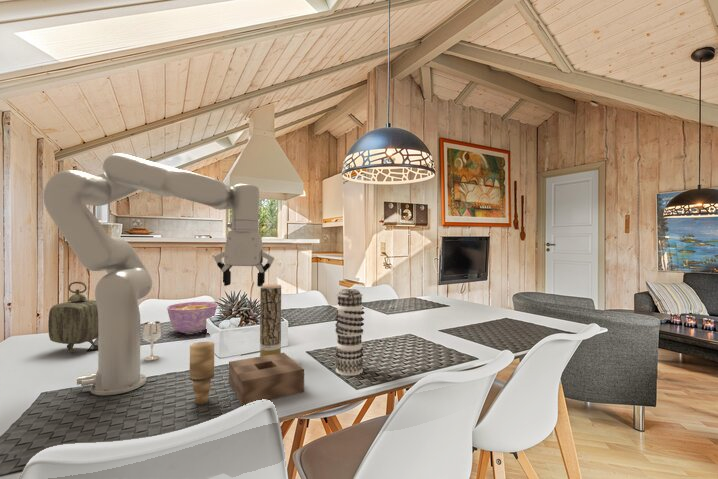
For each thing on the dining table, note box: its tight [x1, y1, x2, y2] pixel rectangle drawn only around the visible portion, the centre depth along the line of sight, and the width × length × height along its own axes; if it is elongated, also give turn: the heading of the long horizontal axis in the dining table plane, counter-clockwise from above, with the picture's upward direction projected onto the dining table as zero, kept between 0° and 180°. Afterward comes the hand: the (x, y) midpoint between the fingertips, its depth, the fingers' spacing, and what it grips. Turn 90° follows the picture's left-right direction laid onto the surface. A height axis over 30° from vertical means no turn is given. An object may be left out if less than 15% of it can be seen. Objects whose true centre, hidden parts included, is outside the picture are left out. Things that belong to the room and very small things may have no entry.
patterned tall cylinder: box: [334, 288, 365, 377], centre depth 109 cm, size 9×9×25 cm
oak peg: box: [189, 341, 215, 405], centre depth 88 cm, size 6×6×14 cm
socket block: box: [228, 352, 305, 406], centre depth 96 cm, size 16×16×6 cm
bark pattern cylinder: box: [259, 283, 282, 357], centre depth 118 cm, size 7×7×25 cm
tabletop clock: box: [47, 281, 99, 354], centre depth 126 cm, size 14×9×25 cm, turn 84°
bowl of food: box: [166, 301, 218, 333], centre depth 153 cm, size 20×20×12 cm
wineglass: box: [141, 320, 163, 361], centre depth 119 cm, size 6×6×12 cm
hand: (243, 285), depth 102 cm, fingers open, 9 cm apart
